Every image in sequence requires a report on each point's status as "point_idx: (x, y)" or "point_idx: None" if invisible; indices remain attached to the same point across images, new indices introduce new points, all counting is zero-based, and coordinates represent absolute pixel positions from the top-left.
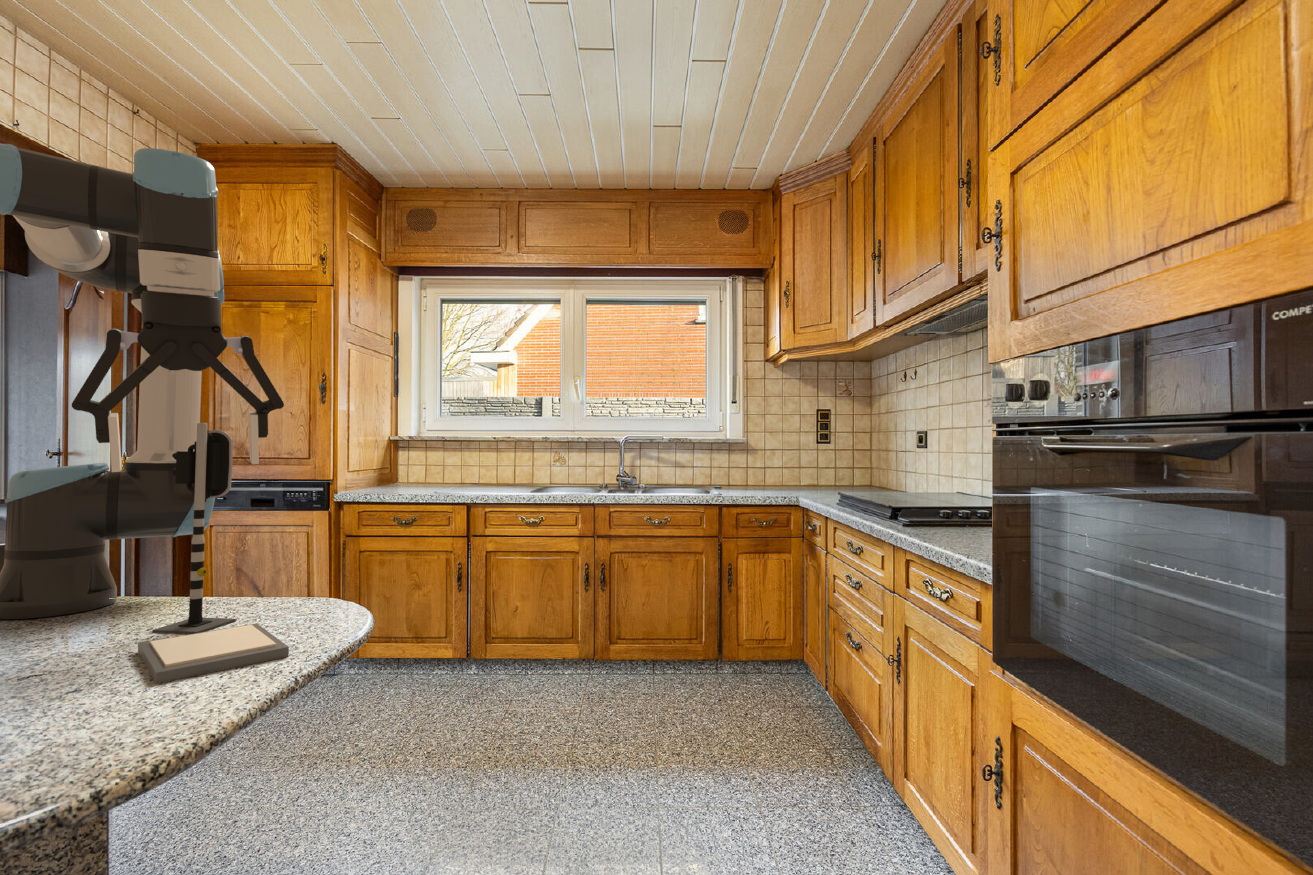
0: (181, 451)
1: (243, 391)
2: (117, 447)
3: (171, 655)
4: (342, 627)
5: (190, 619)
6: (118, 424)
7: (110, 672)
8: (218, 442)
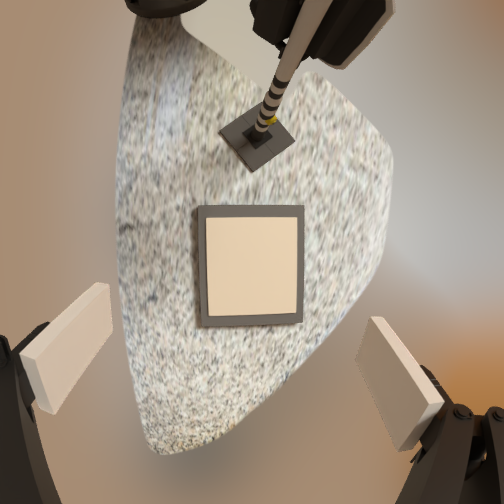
0: None
1: None
2: (88, 362)
3: (215, 289)
4: (367, 251)
5: (253, 136)
6: (56, 356)
7: (175, 261)
8: None
